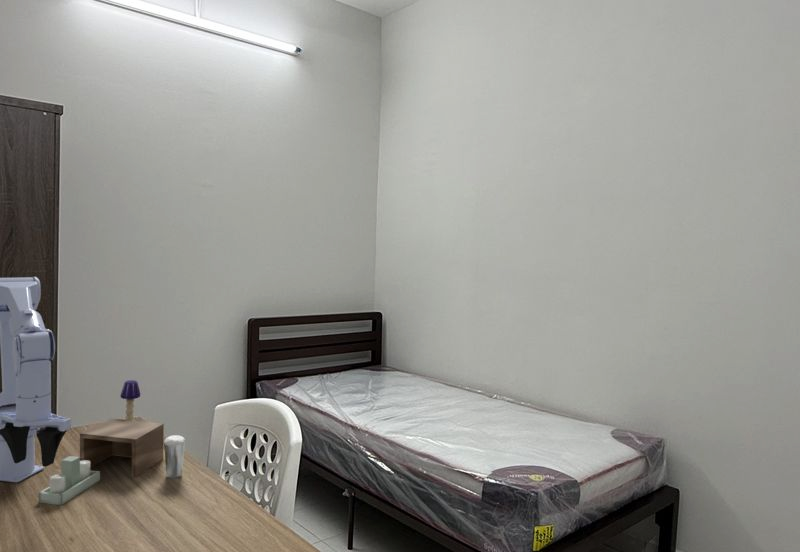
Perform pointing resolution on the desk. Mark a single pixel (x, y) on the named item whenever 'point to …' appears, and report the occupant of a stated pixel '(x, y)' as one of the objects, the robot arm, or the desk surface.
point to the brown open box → (124, 443)
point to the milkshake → (174, 455)
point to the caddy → (69, 481)
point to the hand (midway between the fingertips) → (34, 463)
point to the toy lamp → (130, 396)
